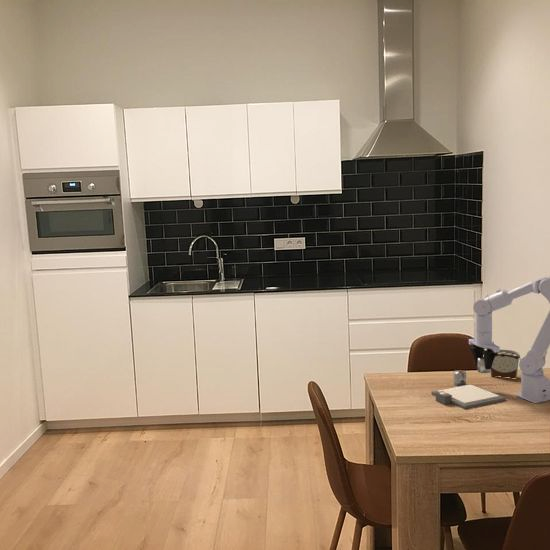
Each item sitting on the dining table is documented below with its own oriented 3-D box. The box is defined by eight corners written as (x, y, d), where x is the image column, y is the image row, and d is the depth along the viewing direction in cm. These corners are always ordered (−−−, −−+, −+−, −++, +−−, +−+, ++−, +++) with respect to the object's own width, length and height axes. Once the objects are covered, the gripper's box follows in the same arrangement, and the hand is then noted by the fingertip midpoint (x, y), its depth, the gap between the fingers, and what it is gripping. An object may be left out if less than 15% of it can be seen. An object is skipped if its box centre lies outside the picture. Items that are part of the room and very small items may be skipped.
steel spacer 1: (468, 385, 237) (468, 372, 236) (459, 387, 235) (459, 374, 234) (460, 382, 241) (460, 369, 240) (451, 383, 239) (451, 371, 238)
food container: (523, 375, 245) (523, 351, 244) (520, 380, 240) (520, 354, 239) (491, 372, 252) (491, 348, 251) (487, 376, 247) (487, 351, 245)
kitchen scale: (505, 400, 218) (505, 391, 218) (456, 410, 210) (456, 401, 210) (471, 386, 235) (471, 378, 234) (424, 395, 227) (424, 386, 227)
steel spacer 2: (493, 372, 229) (493, 358, 228) (483, 373, 227) (483, 360, 227) (484, 369, 233) (484, 355, 233) (474, 370, 232) (474, 357, 231)
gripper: (506, 333, 223) (506, 370, 225) (479, 326, 236) (479, 361, 238) (490, 336, 221) (490, 373, 222) (464, 328, 234) (464, 363, 236)
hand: (483, 367), depth 230 cm, fingers closed on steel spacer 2, 4 cm apart
